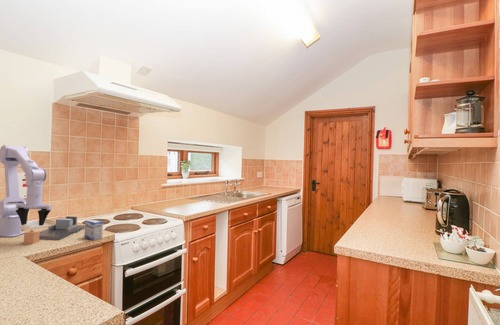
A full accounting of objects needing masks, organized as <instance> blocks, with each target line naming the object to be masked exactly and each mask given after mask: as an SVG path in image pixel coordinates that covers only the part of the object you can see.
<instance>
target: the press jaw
mask: <svg viewBox="0 0 500 325" xmlns="http://www.w3.org/2000/svg"><path fill="white" fill-rule="evenodd" d="M77 221H78V217H77V216H68V215H67V216H66V217H64V218H63V217H62V218H61V217H59V218H56V219H55V224H56V228H55V229H66V227H69V226H72V225H74V224H77V225H78V223H77Z"/></svg>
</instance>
